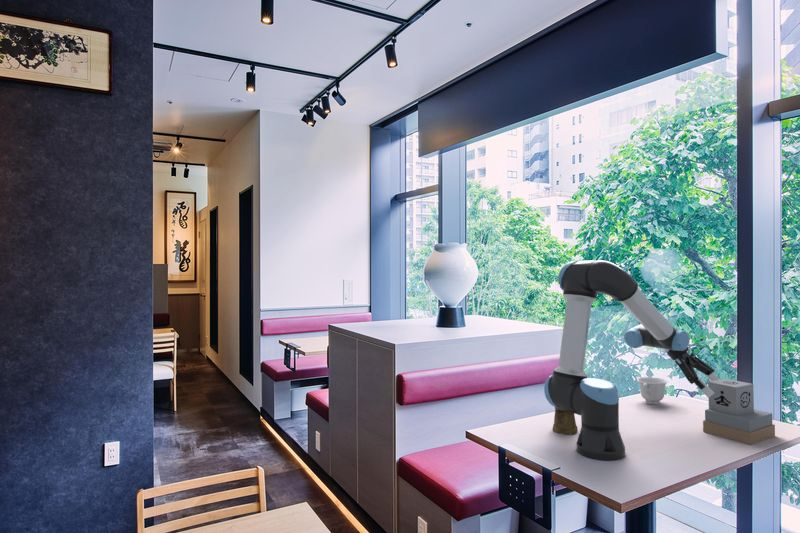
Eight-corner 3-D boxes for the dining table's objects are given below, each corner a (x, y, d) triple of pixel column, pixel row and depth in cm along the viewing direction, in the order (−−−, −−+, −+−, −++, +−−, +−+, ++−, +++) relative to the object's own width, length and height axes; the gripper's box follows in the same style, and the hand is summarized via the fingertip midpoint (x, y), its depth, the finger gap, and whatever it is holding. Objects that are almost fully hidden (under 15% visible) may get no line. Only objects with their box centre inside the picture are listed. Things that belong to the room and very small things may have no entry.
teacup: (630, 404, 223) (629, 381, 222) (644, 397, 233) (643, 376, 233) (659, 409, 214) (658, 386, 214) (672, 402, 224) (671, 379, 224)
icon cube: (725, 404, 191) (725, 378, 191) (753, 411, 182) (753, 383, 182) (708, 408, 187) (708, 381, 187) (736, 415, 178) (735, 387, 178)
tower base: (750, 444, 172) (750, 421, 172) (703, 431, 186) (702, 409, 186) (775, 435, 179) (774, 413, 179) (727, 423, 193) (727, 403, 193)
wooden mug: (589, 428, 192) (588, 381, 192) (568, 436, 184) (567, 387, 184) (568, 422, 200) (567, 377, 199) (547, 430, 191) (546, 383, 191)
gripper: (679, 348, 209) (720, 391, 198) (653, 357, 192) (697, 404, 181) (692, 337, 205) (736, 380, 194) (668, 344, 188) (714, 392, 177)
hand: (717, 392), depth 187 cm, fingers open, 13 cm apart
